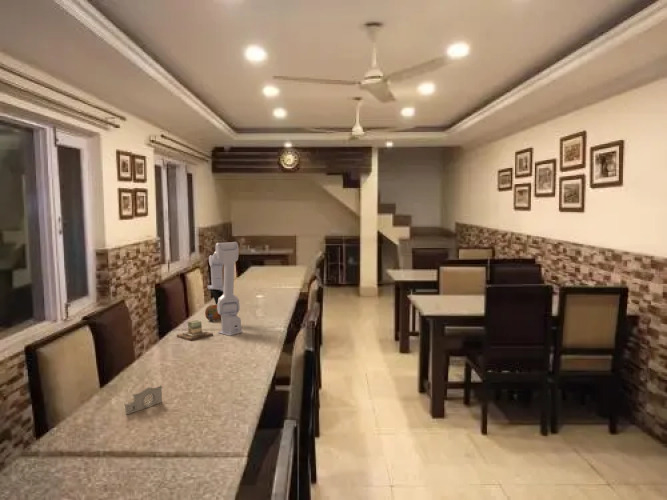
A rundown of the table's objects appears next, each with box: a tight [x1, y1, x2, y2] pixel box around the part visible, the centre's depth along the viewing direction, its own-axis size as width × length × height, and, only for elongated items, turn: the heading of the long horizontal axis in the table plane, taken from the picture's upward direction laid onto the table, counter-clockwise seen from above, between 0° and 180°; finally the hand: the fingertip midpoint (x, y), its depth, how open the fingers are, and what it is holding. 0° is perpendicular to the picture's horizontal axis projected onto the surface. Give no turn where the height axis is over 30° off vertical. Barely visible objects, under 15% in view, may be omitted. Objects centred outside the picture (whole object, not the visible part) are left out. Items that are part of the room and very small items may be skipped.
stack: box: [187, 319, 203, 335], centre depth 235 cm, size 4×4×6 cm
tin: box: [204, 303, 221, 322], centre depth 270 cm, size 15×3×8 cm, turn 143°
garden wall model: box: [123, 385, 163, 415], centre depth 151 cm, size 12×2×6 cm, turn 141°
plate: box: [176, 330, 214, 342], centre depth 235 cm, size 12×12×2 cm
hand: (218, 304), depth 258 cm, fingers closed
